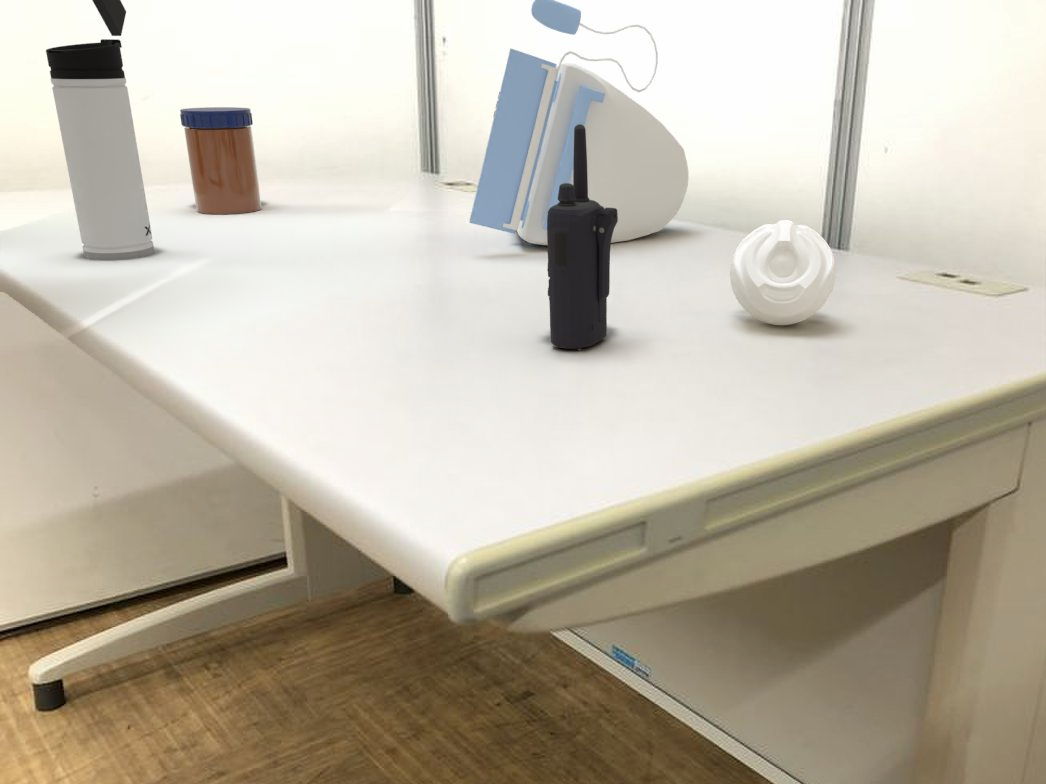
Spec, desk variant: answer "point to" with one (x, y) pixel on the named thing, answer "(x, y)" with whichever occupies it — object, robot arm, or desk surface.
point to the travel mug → (101, 149)
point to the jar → (223, 170)
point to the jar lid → (216, 117)
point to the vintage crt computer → (548, 145)
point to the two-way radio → (578, 258)
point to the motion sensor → (782, 273)
